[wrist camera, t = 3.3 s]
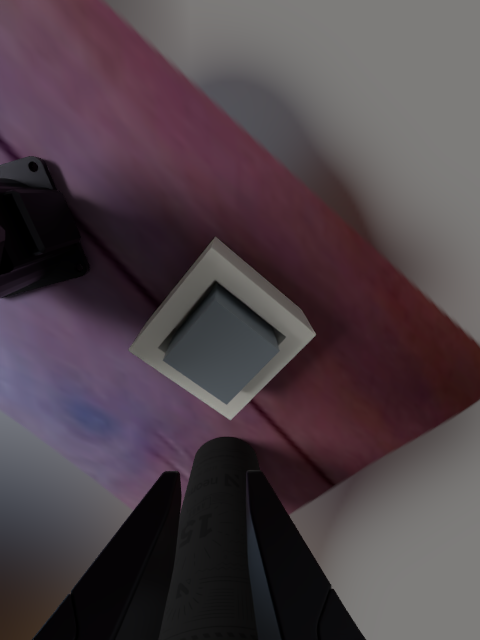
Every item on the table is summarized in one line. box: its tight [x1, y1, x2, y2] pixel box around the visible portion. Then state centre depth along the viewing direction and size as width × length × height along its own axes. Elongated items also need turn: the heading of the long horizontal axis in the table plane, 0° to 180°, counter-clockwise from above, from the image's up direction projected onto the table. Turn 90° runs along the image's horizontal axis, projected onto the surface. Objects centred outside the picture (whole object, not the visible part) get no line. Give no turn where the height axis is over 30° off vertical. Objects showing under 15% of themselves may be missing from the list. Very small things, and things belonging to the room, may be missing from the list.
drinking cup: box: [158, 437, 260, 640], centre depth 16 cm, size 8×8×20 cm
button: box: [163, 283, 280, 405], centre depth 17 cm, size 4×4×3 cm
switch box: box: [128, 237, 316, 420], centre depth 19 cm, size 7×7×4 cm
